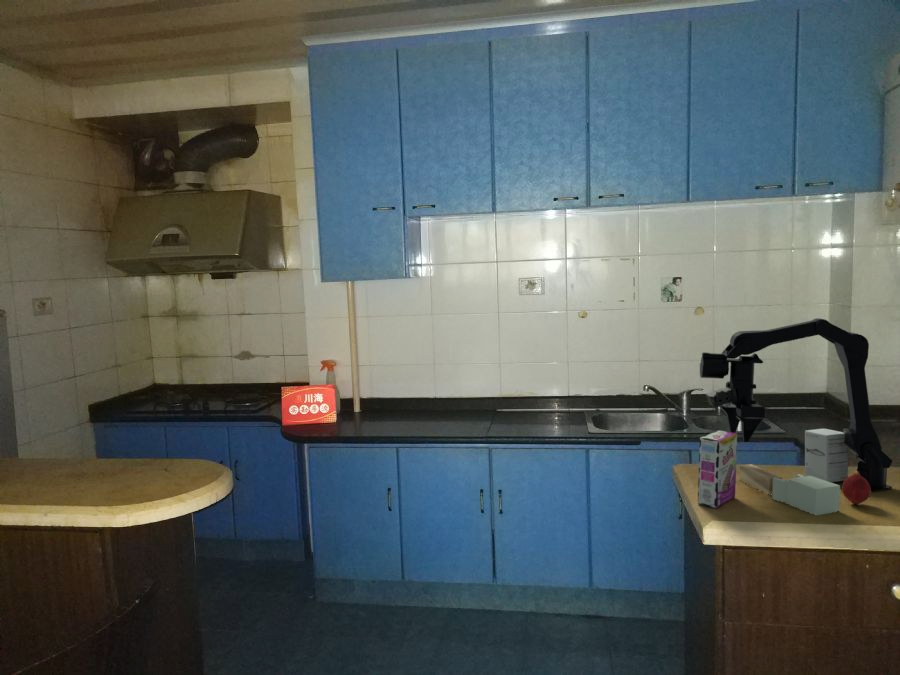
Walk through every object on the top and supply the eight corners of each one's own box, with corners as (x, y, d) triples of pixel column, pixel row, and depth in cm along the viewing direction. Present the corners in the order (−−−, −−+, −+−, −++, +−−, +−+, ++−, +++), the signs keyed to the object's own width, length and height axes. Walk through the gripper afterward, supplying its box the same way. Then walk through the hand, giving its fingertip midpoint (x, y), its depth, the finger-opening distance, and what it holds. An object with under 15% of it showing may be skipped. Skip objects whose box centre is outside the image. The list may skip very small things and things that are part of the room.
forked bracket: (799, 494, 159) (799, 470, 159) (841, 510, 148) (842, 485, 148) (771, 499, 157) (771, 474, 156) (812, 515, 145) (813, 489, 145)
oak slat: (751, 480, 172) (751, 464, 172) (781, 495, 160) (782, 477, 160) (739, 481, 171) (739, 465, 171) (769, 496, 160) (769, 478, 159)
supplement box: (803, 476, 174) (803, 430, 173) (826, 473, 176) (825, 427, 175) (826, 483, 167) (826, 434, 166) (849, 480, 169) (849, 432, 168)
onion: (874, 509, 149) (876, 475, 148) (847, 508, 150) (848, 474, 149) (864, 501, 154) (865, 468, 154) (837, 499, 156) (838, 467, 155)
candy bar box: (717, 509, 151) (719, 440, 149) (696, 504, 154) (698, 437, 153) (737, 497, 158) (738, 432, 157) (716, 493, 162) (717, 429, 160)
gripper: (699, 373, 179) (697, 428, 181) (722, 384, 161) (720, 445, 162) (740, 374, 179) (737, 429, 180) (768, 385, 160) (765, 446, 162)
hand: (739, 437), depth 171 cm, fingers open, 9 cm apart
